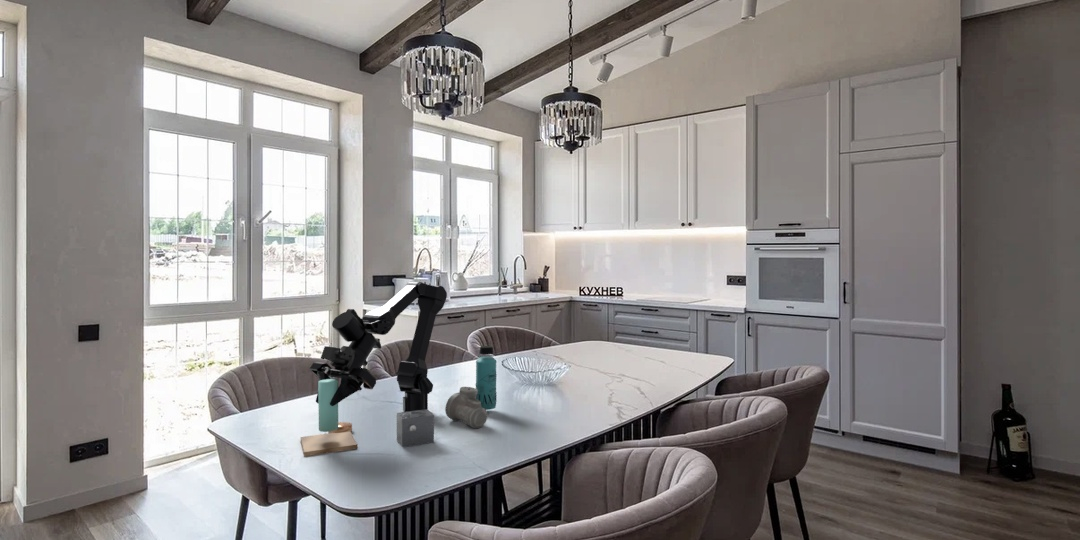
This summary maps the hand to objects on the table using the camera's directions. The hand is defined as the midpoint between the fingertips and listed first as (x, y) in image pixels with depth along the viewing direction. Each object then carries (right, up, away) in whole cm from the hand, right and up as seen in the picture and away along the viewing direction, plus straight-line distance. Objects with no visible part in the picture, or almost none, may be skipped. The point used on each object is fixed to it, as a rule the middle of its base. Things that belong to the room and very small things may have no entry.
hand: (324, 403), depth 137 cm
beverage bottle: (+37, -10, +31) cm, 49 cm away
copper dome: (0, -10, +11) cm, 15 cm away
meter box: (+22, -11, +4) cm, 24 cm away
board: (+1, -10, +1) cm, 11 cm away
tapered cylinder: (+1, -7, +1) cm, 7 cm away
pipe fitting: (+33, -11, +19) cm, 40 cm away
